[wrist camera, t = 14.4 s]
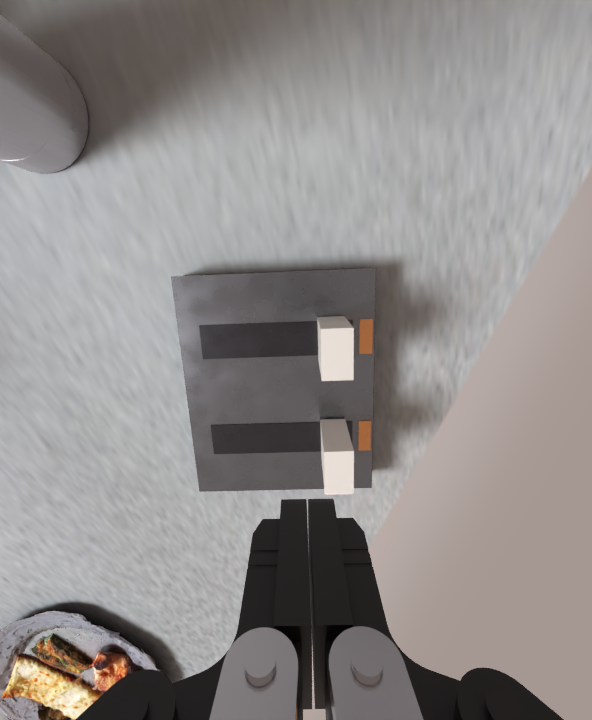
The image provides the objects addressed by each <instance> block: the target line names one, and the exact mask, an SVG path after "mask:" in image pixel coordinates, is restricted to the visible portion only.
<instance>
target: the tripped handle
mask: <svg viewBox="0 0 592 720" xmlns="http://www.w3.org/2000/svg"><path fill="white" fill-rule="evenodd" d="M320 426H321V459H322V470H323V481H324V491H325V495H335V494H354V450H353V446H352V442H351V439H350V435H349V431H348V428H347V424H346V420H345V419H323V420H320Z"/></svg>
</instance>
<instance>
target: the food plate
mask: <svg viewBox="0 0 592 720" xmlns="http://www.w3.org/2000/svg"><path fill="white" fill-rule="evenodd" d="M83 619H84V620H86V618H85V617H84V616H83V615H80V614H75V613H67V612H59V611H45V612H43V613H41V614H40V613H39V614H37V615H36V614H35V615H34V616H32V617H31V618H26V619H22V620H17V621H16V622H14V623H11V624H10V625H9V626H6V627H5V628H4V629H1V631H0V709H1V710H2V711H3V712H4V713H5V714H6V715H7V716H8V717H10V718H12V719H13V720H75V719H77V718H78V717H79V716H80V715H81V714H82V713H83V712H84V711H85V710H86V709H87V708H88V707H90V706H91V705H92V704H93V703H94V702H95V701H96V700H97V699H98V698H99V697H100V696H101V695H103V694H104V693H105V692H106V691H107V690H108V689H109V688H110V687H111V686H112V685H114V684H115V683H116V682H117V681H119V680H120V679H122V678H123V677H125V676H127V675H129V674H131V673H133V672H136V671H139V670H145V669H151V670H157V671H160V672H161V673H162V670H161V669H160V670H159V669H156V667H155V665H156V661H155V659H154V658H152V657H151V656H150V655H147V654H146V653H145V652H144V651H143V650H142V651H143V652H144V653H143V652H141V651H140V650H139V649H138V647H135V646H133V645H132V644H131V643H130V642H128V641H127V640H125V639H124V638H122V637H121V636H119V634H120V633H119V632H114V631H110V630H106V629H104V628H103V626H102V627H101V626H96V625H91V622H87V620H86V621H84V620H83ZM62 627H63V628H64V629H65V628H66V627H70V628H71V629H73V630H75V629H76V630H75V631H78V630H79V631H82V629H83V630H84V633H86V632H85V630H87V631H91V632H88V633H90V635H92V636H94V637H95V638H94V637H92V639H93V640H92V642H90V641H88V640H85V639H84V636H82V635H80V634H77V635H78V637H75V638H78V639H80V640H81V641H75V642H76V643H75V642H74V641H70V643H71V644H68V642H64V641H63V640H61V639H60V638H58V637H57V636H55V635H54V633H51V634H52V635H49V636H48V637H42V638H40V639H39V640H38V642H37V644H35V645H36V646H35V647H34V648H32V649H30V651H32V652H33V653H34V654H35V655H36V657H35V656H32V655H31V654H30V655H29V656H28V655H26V654H22V653H23V652H24V651H25V649H26V647H27V646H28V645H29V643H30V642H31V641H32V640H33V639H34V637H35V636H36V635H37V634H40V633H41V632H43V631H44V632H45V631H47V630H48V629H51V630H52V629H54V628H62ZM57 631H58V630H57ZM94 631H95V632H94ZM94 633H95V634H96V635H95V634H94ZM74 636H75V635H74ZM97 636H98V637H99V639H98V637H97ZM103 636H104V637H103ZM70 637H71V635H70ZM86 638H87V637H86ZM102 638H103V639H102ZM70 639H71V638H70ZM66 640H69V639H66ZM96 640H99V642H97V641H96ZM105 641H107V642H105ZM114 642H115V643H114ZM94 643H95V644H94ZM70 645H71V646H70ZM8 719H9V718H8ZM9 720H11V719H9Z"/></svg>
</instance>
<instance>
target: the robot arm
mask: <svg viewBox="0 0 592 720" xmlns="http://www.w3.org/2000/svg"><path fill="white" fill-rule="evenodd" d="M87 134H88V113H87V108H86V104H85V101H84V98H83V95H82V93H81V91H80V89H79V87H78V85H77V84H76V82H75V81H74V79H73V78H72V76H71V75H70V74H69V73H68V72H67V71H66V70H65V69H64V68H63V67H62V66H61V65H60V64H59V63H58V62H57V61H56V60H54V59H53V58H52V57H51V56H50V55H48V54H47V53H46V52H45V51H43V50H42V49H41V48H40V47H39V46H37V45H36V44H35V43H34V42H33V41H31V40H30V39H29V38H28V37H27V36H26V35H24V34H23V33H22V32H21V31H20V30H18V29H17V28H16V27H15V26H14V25H12V24H11V23H10V22H9V21H8V20H6V19H5V18H4V17H3V16H1V15H0V161H3V162H6V163H8V164H11V165H14V166H17V167H20V168H23V169H26V170H29V171H32V172H37V173H54V172H57V171H61V170H63V169H65V168H66V167H68V166H70V165H71V164H72V163H73V162H74V161H75V160H76V159H77V158H78V157H79V155H80V153H81V152H82V150H83V148H84V145H85V142H86V139H87ZM308 538H309V552H308ZM309 575H310V576H309ZM311 622H312V623H311ZM312 646H313V670H314V693H315V709H325V710H326V720H563V719H562V718H561V717H560V716H559V715H557V714H556V713H555V712H554V711H553V710H551V709H550V708H549V707H548V706H547V705H545V704H544V703H543V702H542V701H540V700H539V699H538V698H537V697H536V696H535V695H533V694H532V693H531V692H530V691H529V690H527V689H526V688H525V687H524V686H523V685H521V684H520V683H519V682H517V681H516V680H515V679H513V678H512V677H510V676H508V675H506V674H504V673H502V672H500V671H497V670H494V669H490V668H476V669H473V670H470V671H469V672H467V673H466V674H465V675H464V676H463V677H462V679H461V681H459V680H456V679H453V678H450V677H447V676H445V675H442V674H439V673H436V672H433V671H431V670H428V669H426V668H424V667H422V666H420V665H418V664H417V663H415V662H414V661H412V660H411V659H409V658H408V657H407V656H406V655H405V654H404V653H403V652H402V651H401V650H400V648H399V647H398V646H397V645H396V643H395V641H394V640H393V638H392V636H391V634H390V632H389V629H388V626H387V622H386V618H385V614H384V610H383V606H382V602H381V598H380V594H379V590H378V586H377V582H376V578H375V574H374V570H373V567H372V562H371V558H370V554H369V552H368V546H367V542H366V538H365V534H364V531H363V530H362V529H361V528H360V526H359V525H358V524H357V522H356V521H355V520H354V519H353V518H336V511H335V505H334V500H333V499H308V528H307V504H306V499H289V500H281V514H280V519H263V520H262V521H261V523H260V524H259V526H258V527H257V528H256V530H255V531H254V533H253V537H252V543H251V550H250V556H249V562H248V569H247V575H246V581H245V588H244V594H243V600H242V606H241V613H240V619H239V625H238V630H237V634H236V637H235V639H234V642H233V643H232V645H231V647H230V649H229V650H228V651H227V653H226V654H225V655H224V656H223V657H222V658H221V659H220V660H219V661H218V662H217V663H216V664H215V665H213V666H212V667H210V668H209V669H207V670H205V671H203V672H201V673H198V674H196V675H193V676H191V677H188V678H186V679H183V680H181V681H178V682H176V683H173V684H172V683H171V681H170V680H169V678H168V677H167V676H166V675H165V674H163V673H161V672H160V671H157V670H151V669H145V670H139V671H136V672H133V673H131V674H129V675H127V676H125V677H123V678H122V679H120V680H119V681H117V682H116V683H115V684H114V685H112V686H111V687H110V688H109V689H108V690H107V691H106V692H105V693H104V694H103V695H101V696H100V697H99V698H98V699H97V700H96V701H95V702H94V703H93V704H92V705H91V706H90V707H88V708H87V709H86V710H85V711H84V712H83V713H82V714H81V715H80V716H79V717H78V718H77V719H75V720H303V709H312Z"/></svg>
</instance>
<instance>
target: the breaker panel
mask: <svg viewBox="0 0 592 720" xmlns="http://www.w3.org/2000/svg"><path fill="white" fill-rule="evenodd" d="M171 280H172V287H173V295H174V302H175V310H176V317H177V325H178V332H179V340H180V347H181V355H182V362H183V370H184V378H185V385H186V393H187V400H188V408H189V415H190V423H191V430H192V438H193V445H194V453H195V460H196V468H197V475H198V483H199V490H200V491H244V490H289V489H324V481H323V470H322V459H321V426H320V420H323V419H345V420H346V424H347V428H348V431H349V435H350V439H351V442H352V446H353V450H354V488H372V441H373V392H374V344H375V295H376V268H360V269H335V270H311V271H287V272H263V273H239V274H215V275H191V276H175V277H171ZM331 316H345V318H346V319H347V320H348V321H349V323H350V324H351V325H352V326H353V327H354V380H343V381H322V380H321V374H320V367H319V361H318V325H317V317H331Z"/></svg>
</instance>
